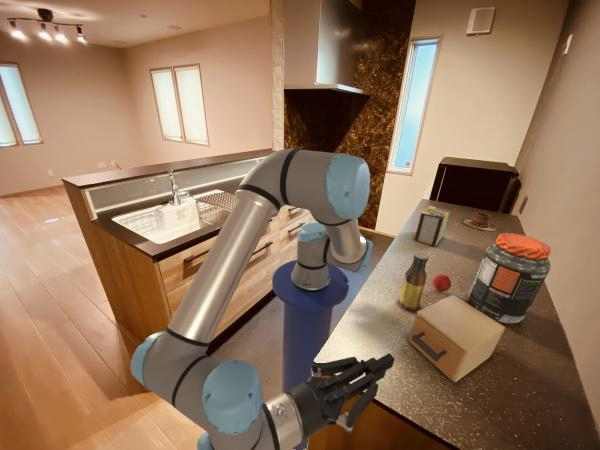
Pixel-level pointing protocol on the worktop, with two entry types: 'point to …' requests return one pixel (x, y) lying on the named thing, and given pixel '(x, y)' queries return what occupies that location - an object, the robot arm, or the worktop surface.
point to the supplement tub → (510, 277)
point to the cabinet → (464, 330)
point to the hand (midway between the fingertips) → (390, 360)
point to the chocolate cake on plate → (480, 221)
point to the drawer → (436, 347)
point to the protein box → (431, 225)
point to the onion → (442, 282)
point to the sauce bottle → (414, 282)
